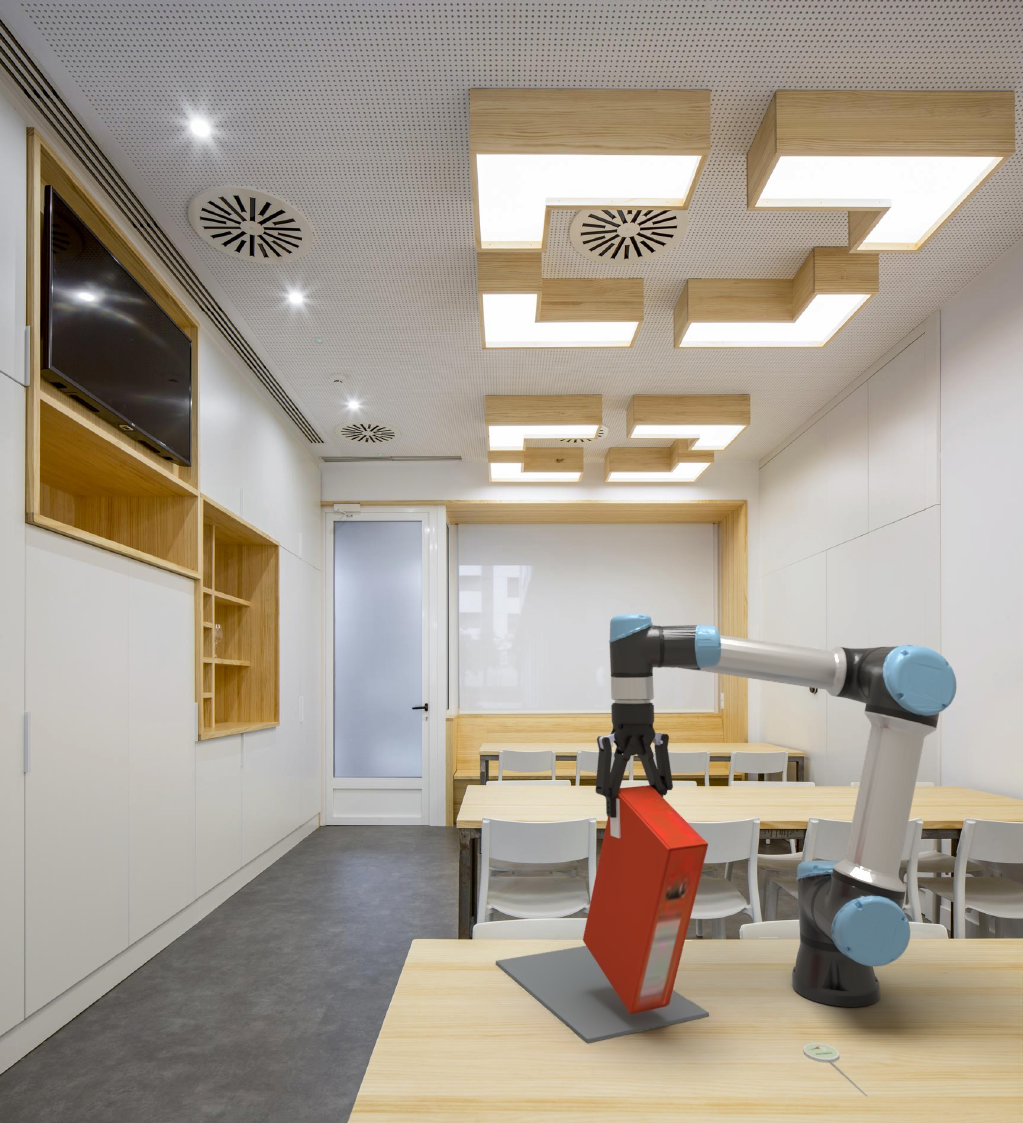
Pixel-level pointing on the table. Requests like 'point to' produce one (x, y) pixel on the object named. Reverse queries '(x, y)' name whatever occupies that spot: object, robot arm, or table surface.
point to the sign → (825, 1056)
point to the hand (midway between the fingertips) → (635, 834)
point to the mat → (589, 995)
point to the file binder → (644, 898)
